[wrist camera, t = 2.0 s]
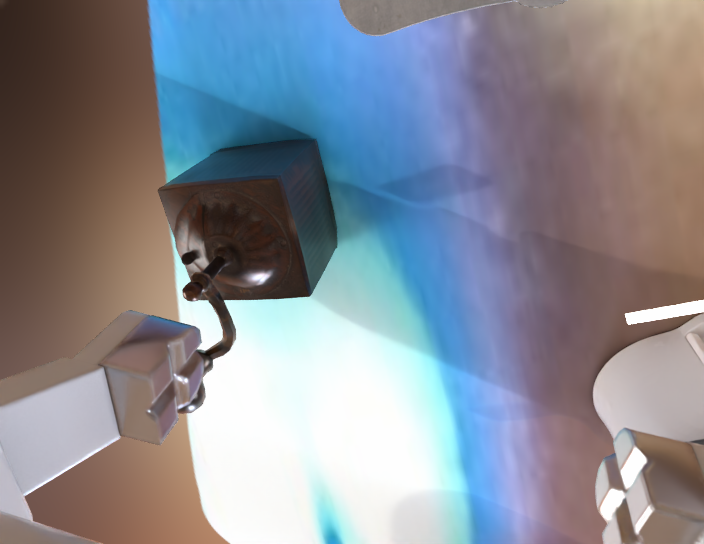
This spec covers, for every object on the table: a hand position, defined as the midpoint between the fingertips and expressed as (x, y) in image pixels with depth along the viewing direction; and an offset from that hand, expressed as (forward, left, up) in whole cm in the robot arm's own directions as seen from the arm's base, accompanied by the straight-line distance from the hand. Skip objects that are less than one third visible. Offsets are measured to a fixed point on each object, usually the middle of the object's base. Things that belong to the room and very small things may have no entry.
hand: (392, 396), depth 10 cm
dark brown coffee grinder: (+16, +14, -34) cm, 40 cm away
